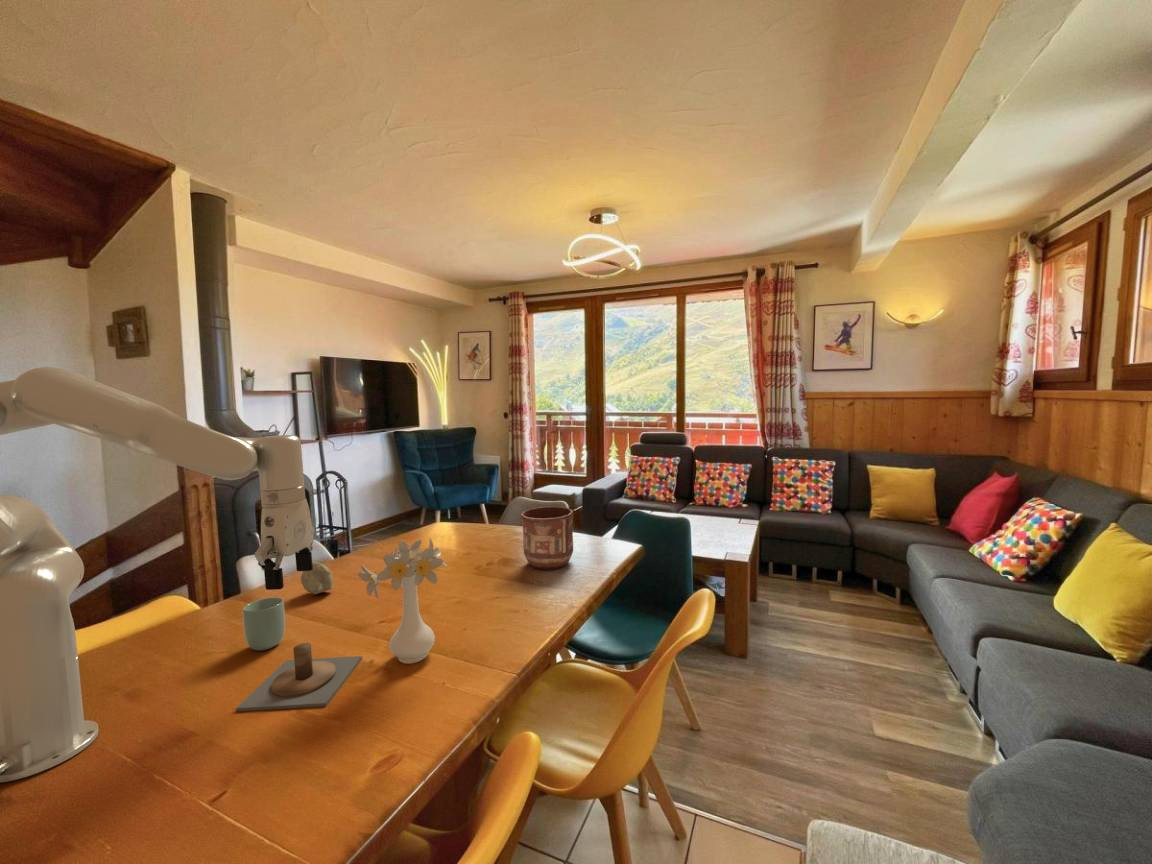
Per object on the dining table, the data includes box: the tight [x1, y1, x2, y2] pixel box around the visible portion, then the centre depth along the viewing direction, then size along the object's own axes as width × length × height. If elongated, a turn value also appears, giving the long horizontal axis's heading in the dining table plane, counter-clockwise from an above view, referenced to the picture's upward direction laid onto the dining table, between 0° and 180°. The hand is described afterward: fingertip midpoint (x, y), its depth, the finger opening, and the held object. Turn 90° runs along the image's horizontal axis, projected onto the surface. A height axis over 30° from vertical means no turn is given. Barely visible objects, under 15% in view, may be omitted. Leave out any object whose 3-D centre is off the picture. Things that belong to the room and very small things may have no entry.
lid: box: [271, 642, 336, 697], centre depth 93 cm, size 11×11×7 cm
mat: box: [235, 655, 363, 712], centre depth 93 cm, size 16×16×1 cm
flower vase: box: [357, 537, 448, 665], centre depth 100 cm, size 13×18×25 cm
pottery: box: [520, 505, 574, 571], centre depth 158 cm, size 18×18×18 cm
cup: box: [242, 596, 286, 652], centre depth 108 cm, size 8×8×10 cm
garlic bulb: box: [300, 561, 335, 595], centre depth 138 cm, size 9×8×10 cm
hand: (290, 579), depth 95 cm, fingers open, 9 cm apart
